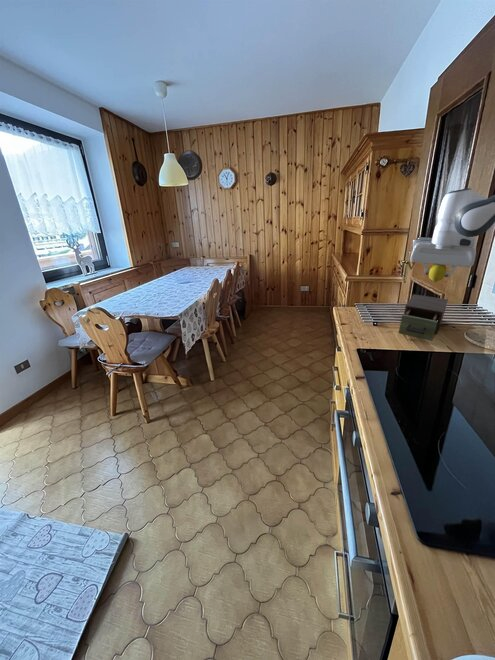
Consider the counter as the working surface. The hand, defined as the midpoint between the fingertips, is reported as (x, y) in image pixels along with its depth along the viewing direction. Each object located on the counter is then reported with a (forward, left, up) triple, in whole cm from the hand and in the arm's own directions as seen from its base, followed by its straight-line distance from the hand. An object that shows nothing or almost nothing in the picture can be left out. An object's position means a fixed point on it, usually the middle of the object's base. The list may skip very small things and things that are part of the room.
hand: (436, 275), depth 109 cm
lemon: (0, 0, -3) cm, 3 cm away
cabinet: (+1, 0, -21) cm, 21 cm away
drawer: (+1, +10, -20) cm, 23 cm away
